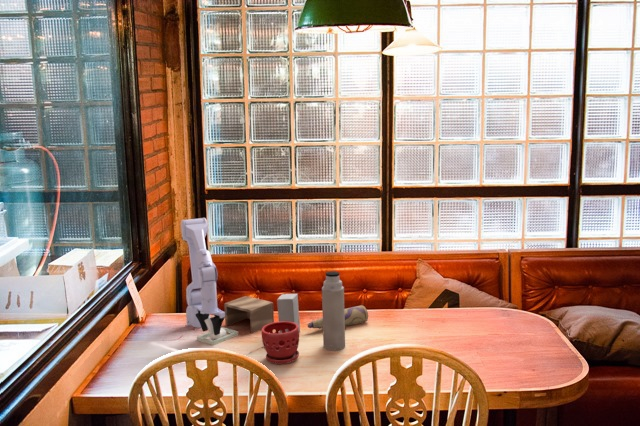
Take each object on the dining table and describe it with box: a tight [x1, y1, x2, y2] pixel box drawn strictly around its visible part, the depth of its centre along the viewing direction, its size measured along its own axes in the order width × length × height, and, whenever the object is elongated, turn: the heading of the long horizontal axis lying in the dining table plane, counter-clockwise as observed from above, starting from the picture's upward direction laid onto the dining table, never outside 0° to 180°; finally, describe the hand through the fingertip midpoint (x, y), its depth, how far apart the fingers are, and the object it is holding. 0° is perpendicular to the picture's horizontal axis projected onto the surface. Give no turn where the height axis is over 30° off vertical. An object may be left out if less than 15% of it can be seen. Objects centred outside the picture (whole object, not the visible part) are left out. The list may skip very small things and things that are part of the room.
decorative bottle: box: [307, 305, 369, 330], centre depth 260 cm, size 26×8×7 cm, turn 118°
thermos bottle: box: [321, 270, 346, 351], centre depth 238 cm, size 8×8×28 cm
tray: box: [196, 326, 239, 346], centre depth 250 cm, size 9×13×3 cm
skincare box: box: [276, 293, 301, 334], centre depth 251 cm, size 8×7×16 cm
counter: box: [223, 295, 275, 334], centre depth 262 cm, size 15×12×10 cm
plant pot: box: [260, 321, 300, 365], centre depth 229 cm, size 13×13×12 cm
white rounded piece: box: [204, 315, 214, 334], centre depth 247 cm, size 4×4×6 cm
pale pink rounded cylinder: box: [209, 328, 227, 341], centre depth 248 cm, size 4×4×6 cm
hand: (211, 332), depth 247 cm, fingers open, 6 cm apart
